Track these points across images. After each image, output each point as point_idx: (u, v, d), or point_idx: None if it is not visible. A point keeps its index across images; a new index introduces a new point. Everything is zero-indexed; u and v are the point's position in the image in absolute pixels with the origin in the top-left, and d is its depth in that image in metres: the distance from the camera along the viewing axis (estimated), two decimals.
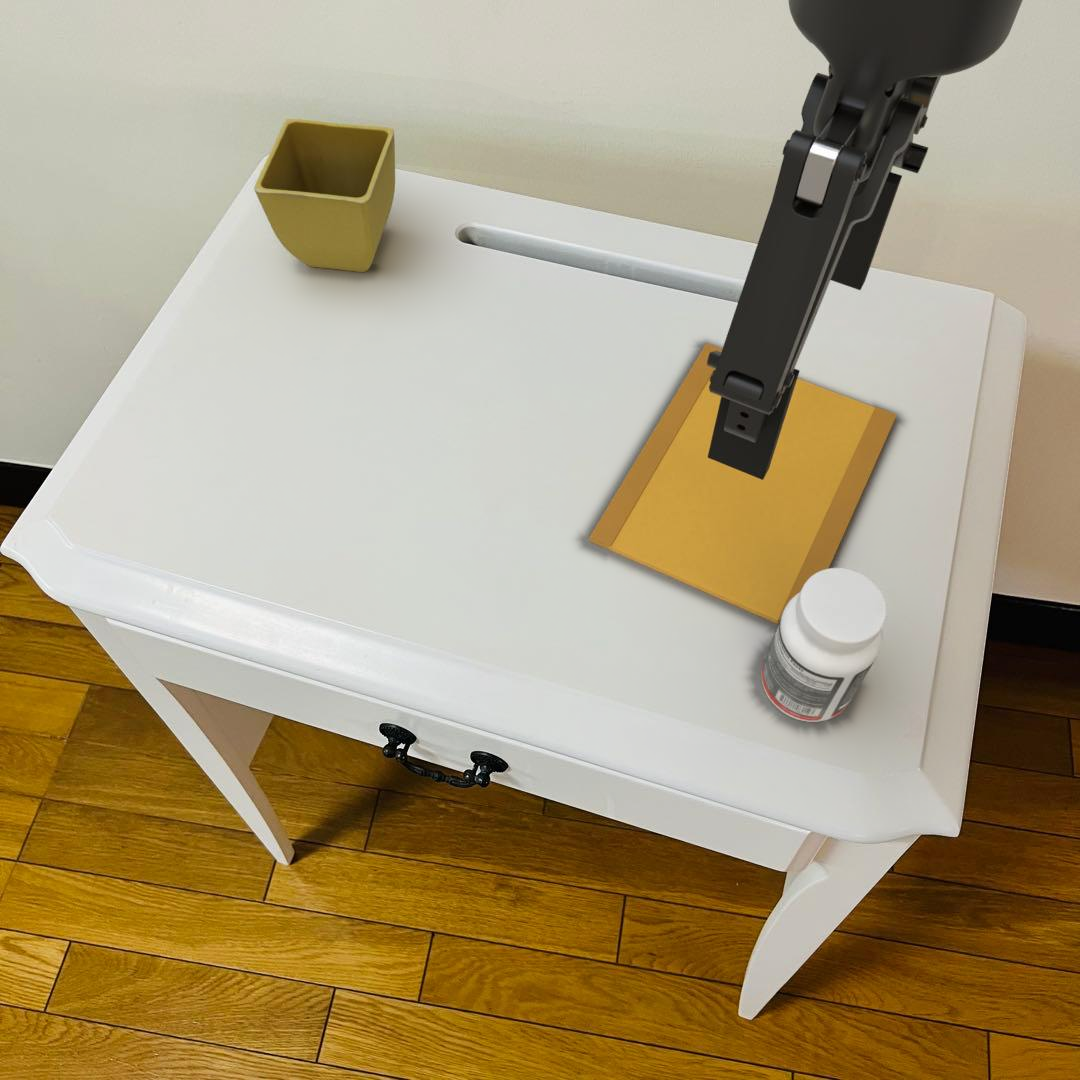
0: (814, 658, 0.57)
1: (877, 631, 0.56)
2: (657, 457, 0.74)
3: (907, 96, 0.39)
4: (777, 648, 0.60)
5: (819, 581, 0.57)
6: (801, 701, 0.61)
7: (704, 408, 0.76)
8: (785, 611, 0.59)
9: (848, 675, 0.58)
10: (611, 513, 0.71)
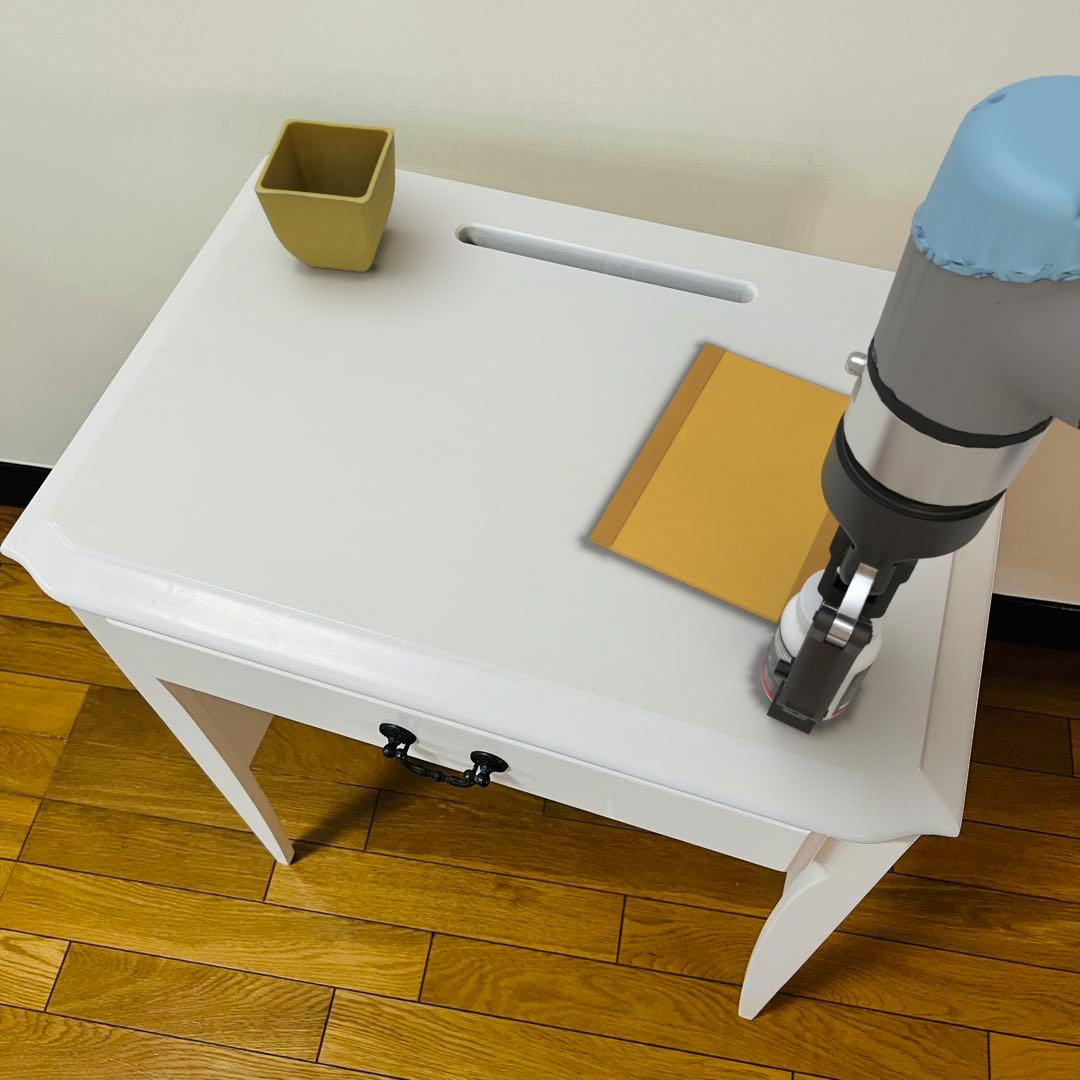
0: None
1: (877, 630, 0.56)
2: (657, 457, 0.74)
3: None
4: (777, 648, 0.60)
5: (819, 580, 0.57)
6: None
7: (704, 408, 0.76)
8: (785, 611, 0.59)
9: (848, 675, 0.58)
10: (611, 513, 0.71)
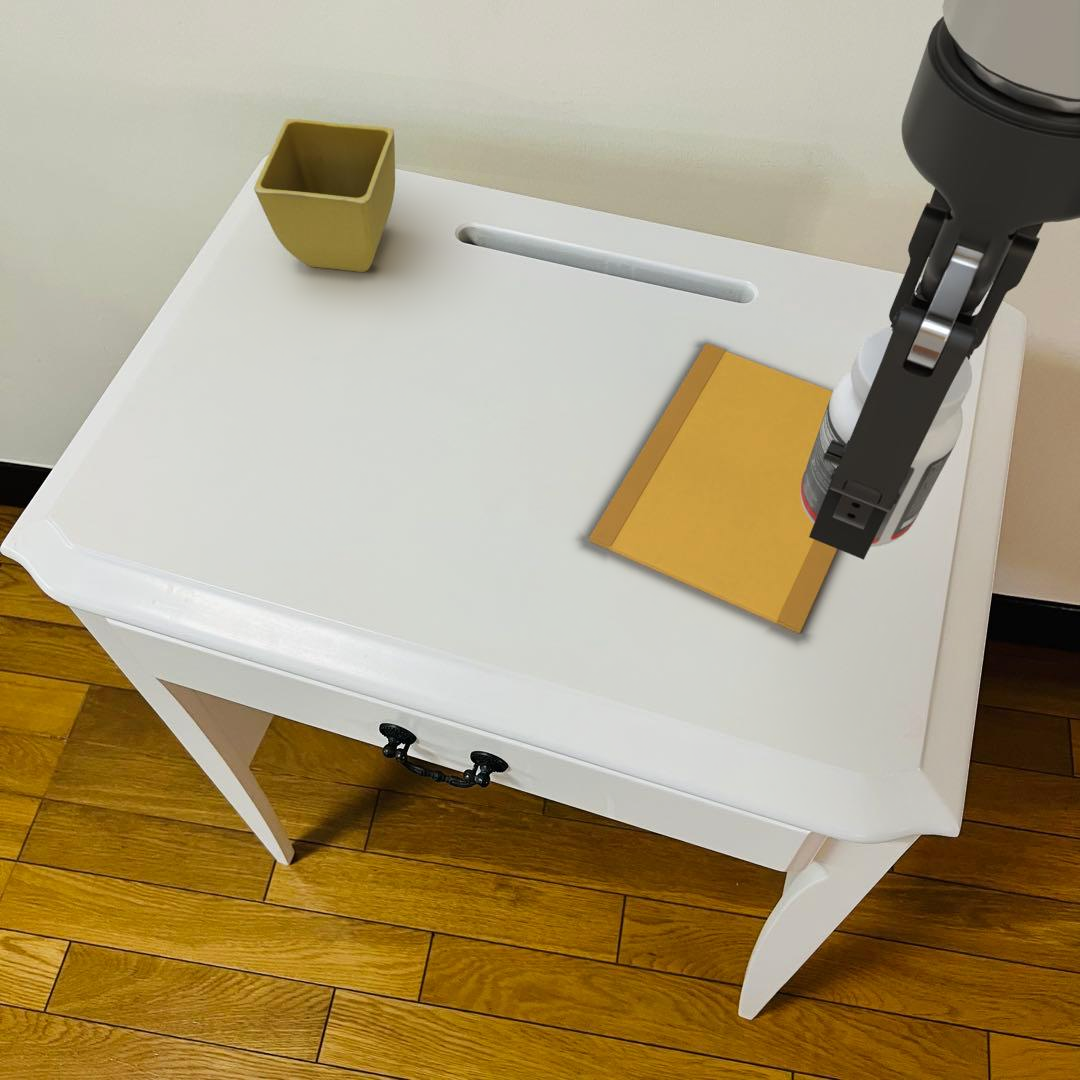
0: None
1: (961, 396, 0.42)
2: (657, 457, 0.74)
3: None
4: (824, 441, 0.47)
5: (882, 340, 0.44)
6: None
7: (704, 408, 0.76)
8: (835, 389, 0.46)
9: (919, 465, 0.44)
10: (611, 513, 0.71)
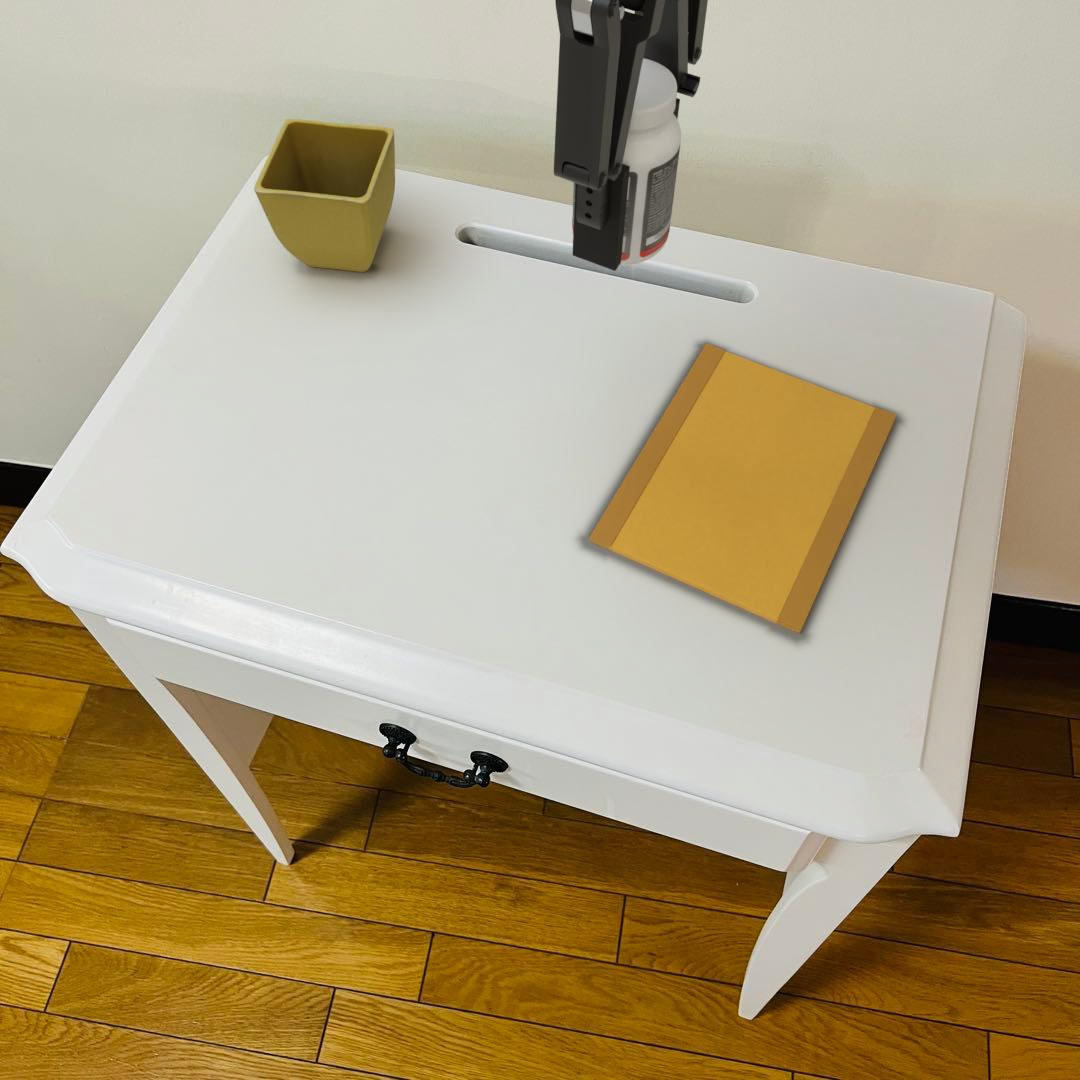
0: None
1: (664, 104, 0.52)
2: (657, 457, 0.74)
3: None
4: None
5: None
6: None
7: (704, 408, 0.76)
8: None
9: (640, 170, 0.54)
10: (611, 513, 0.71)
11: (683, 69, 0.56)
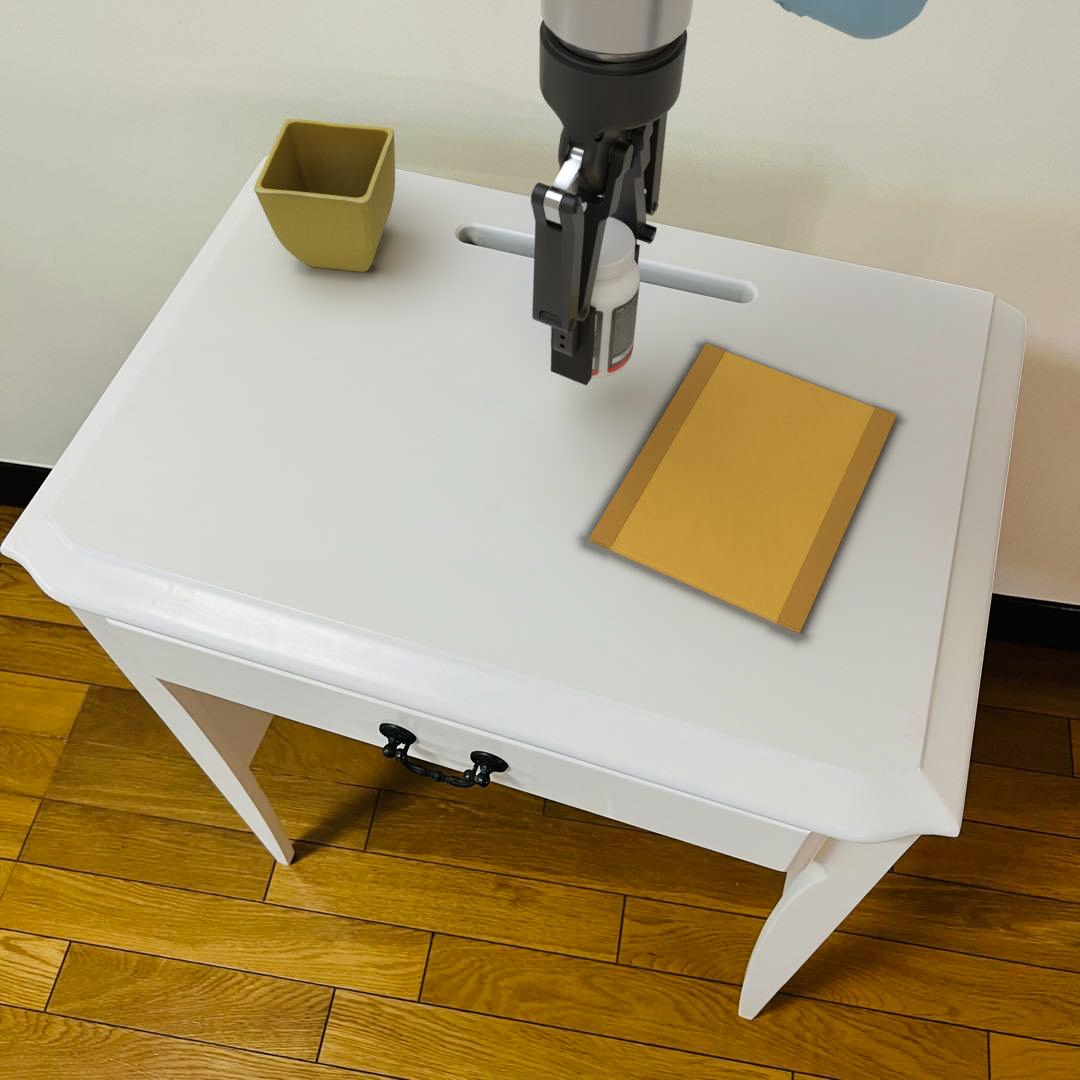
0: None
1: (623, 259, 0.64)
2: (657, 457, 0.74)
3: (630, 138, 0.58)
4: None
5: None
6: None
7: (704, 408, 0.76)
8: None
9: (605, 309, 0.66)
10: (611, 513, 0.71)
11: (642, 222, 0.67)
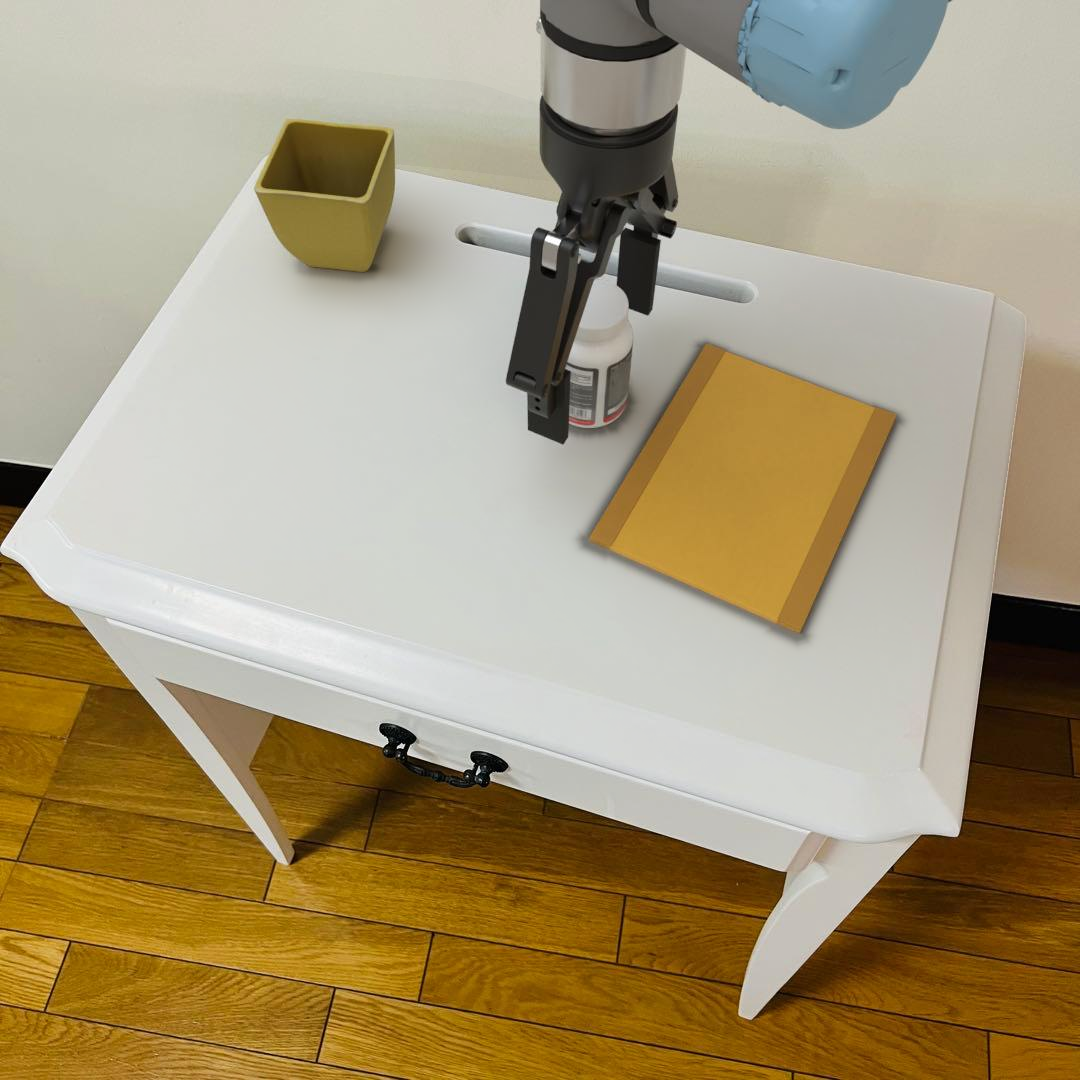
0: (572, 351, 0.70)
1: (617, 321, 0.68)
2: (657, 457, 0.74)
3: (625, 199, 0.62)
4: None
5: None
6: (573, 402, 0.73)
7: (704, 408, 0.76)
8: None
9: (601, 367, 0.70)
10: (611, 513, 0.71)
11: (661, 222, 0.70)
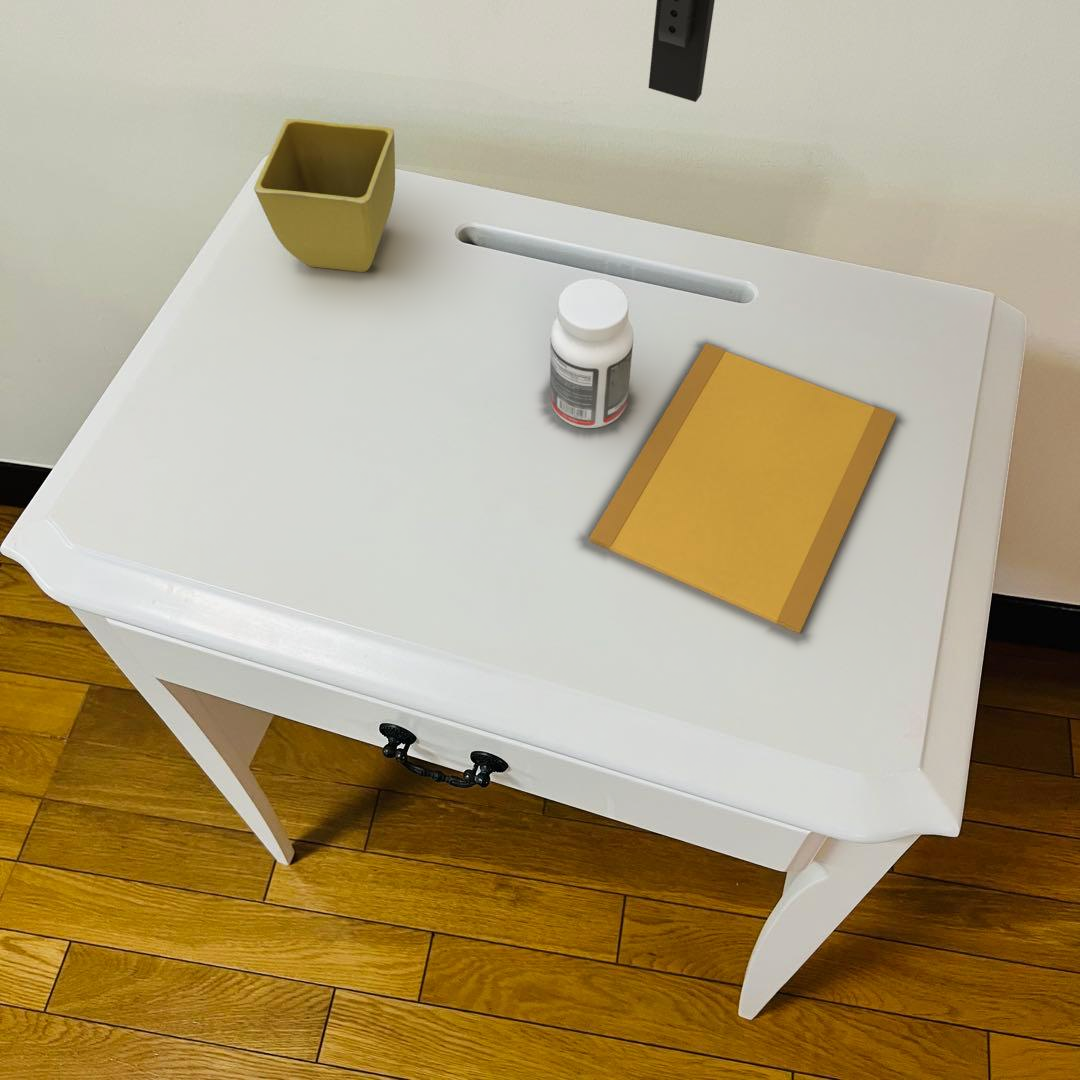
0: (572, 351, 0.70)
1: (617, 321, 0.68)
2: (657, 457, 0.74)
3: None
4: (550, 355, 0.72)
5: (576, 287, 0.69)
6: (573, 402, 0.73)
7: (704, 408, 0.76)
8: None
9: (601, 367, 0.70)
10: (611, 513, 0.71)
11: None
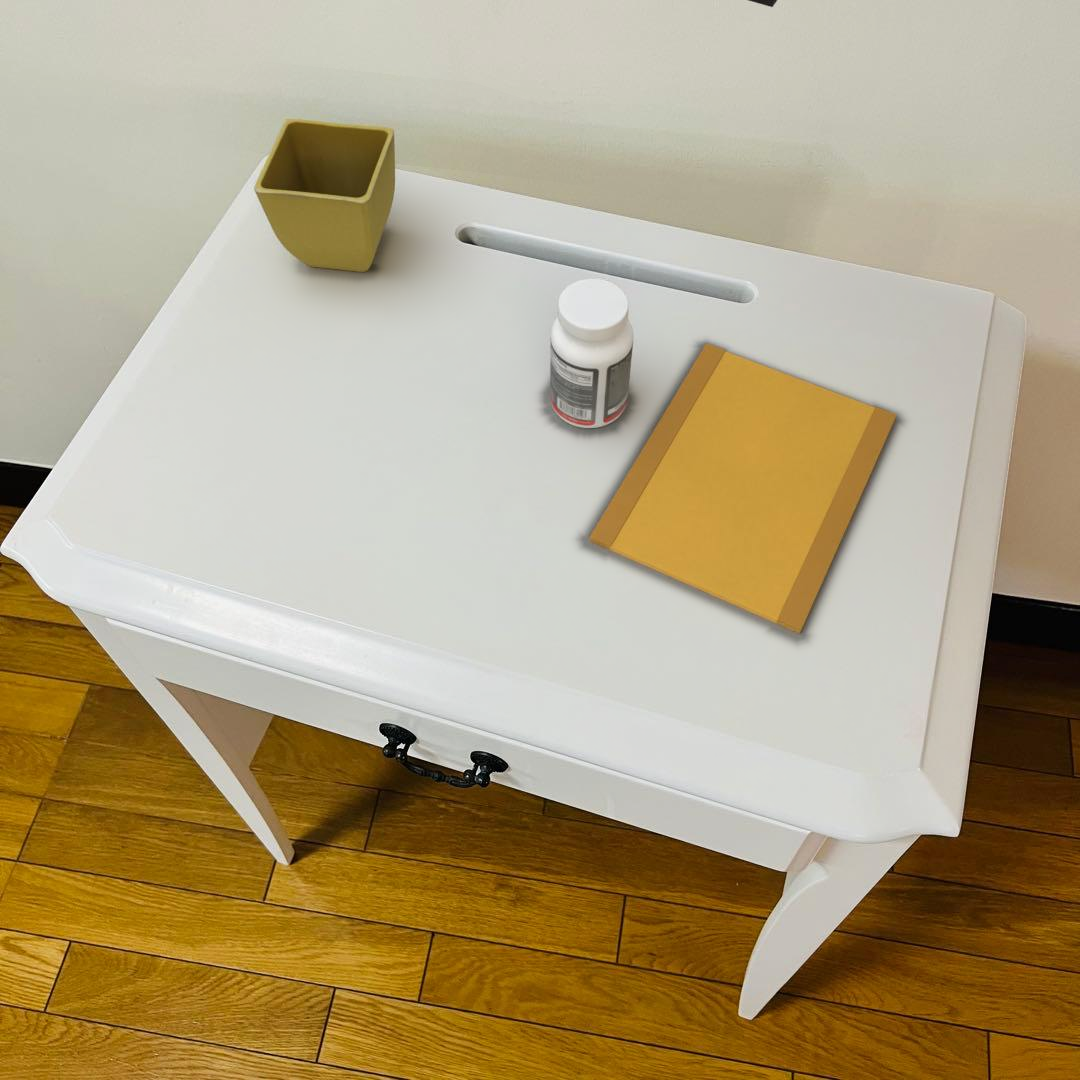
0: (572, 351, 0.70)
1: (618, 321, 0.68)
2: (657, 457, 0.74)
3: None
4: (550, 355, 0.72)
5: (576, 287, 0.69)
6: (573, 402, 0.73)
7: (704, 408, 0.76)
8: None
9: (601, 367, 0.70)
10: (611, 513, 0.71)
11: None
